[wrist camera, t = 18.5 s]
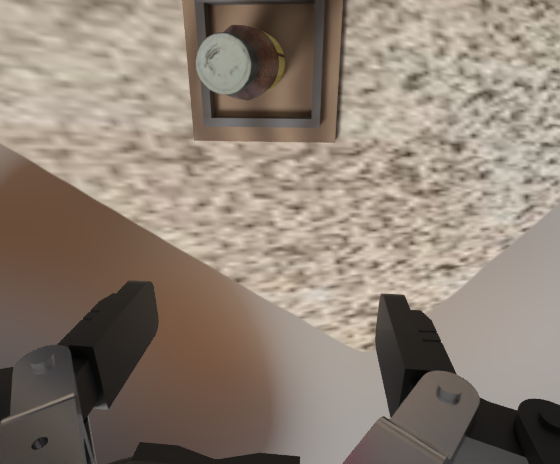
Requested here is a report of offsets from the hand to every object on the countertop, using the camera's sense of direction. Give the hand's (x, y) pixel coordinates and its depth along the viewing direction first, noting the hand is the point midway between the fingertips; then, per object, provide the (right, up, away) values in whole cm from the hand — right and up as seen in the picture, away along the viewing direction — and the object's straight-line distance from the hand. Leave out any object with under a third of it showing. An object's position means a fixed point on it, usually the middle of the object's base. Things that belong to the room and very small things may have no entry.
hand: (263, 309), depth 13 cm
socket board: (-1, +23, +32) cm, 39 cm away
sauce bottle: (-2, +22, +31) cm, 38 cm away
